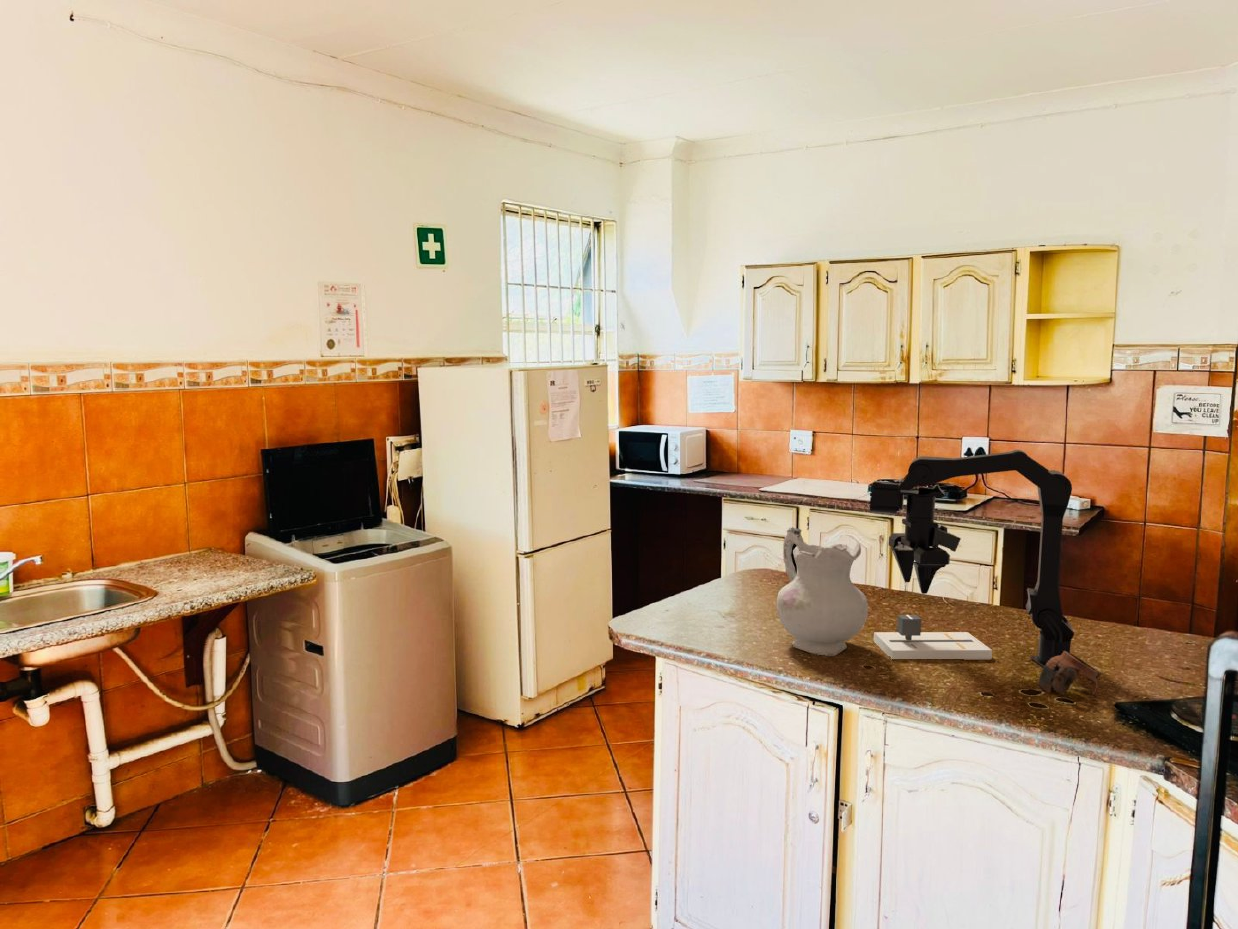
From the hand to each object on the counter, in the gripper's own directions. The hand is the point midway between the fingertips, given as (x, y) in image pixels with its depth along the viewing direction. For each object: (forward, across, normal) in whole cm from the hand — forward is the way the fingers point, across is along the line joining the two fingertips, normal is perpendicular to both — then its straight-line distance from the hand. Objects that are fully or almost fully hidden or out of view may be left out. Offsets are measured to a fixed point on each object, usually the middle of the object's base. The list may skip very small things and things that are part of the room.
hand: (915, 587), depth 189 cm
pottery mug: (+13, -26, -20) cm, 35 cm away
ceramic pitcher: (+14, +3, +20) cm, 25 cm away
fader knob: (+11, -1, +2) cm, 11 cm away
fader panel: (+13, -2, -4) cm, 14 cm away
